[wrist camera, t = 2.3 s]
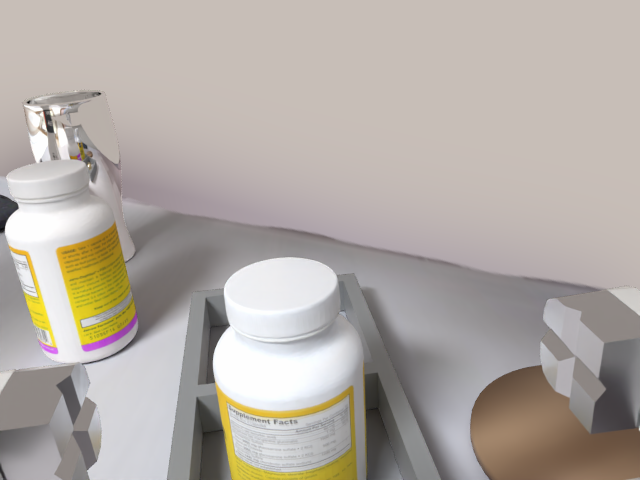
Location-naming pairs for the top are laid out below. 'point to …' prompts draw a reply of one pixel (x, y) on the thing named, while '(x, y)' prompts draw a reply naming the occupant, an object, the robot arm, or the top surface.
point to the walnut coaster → (544, 435)
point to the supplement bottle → (69, 263)
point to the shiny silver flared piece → (81, 144)
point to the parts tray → (380, 388)
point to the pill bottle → (290, 376)
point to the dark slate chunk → (6, 210)
